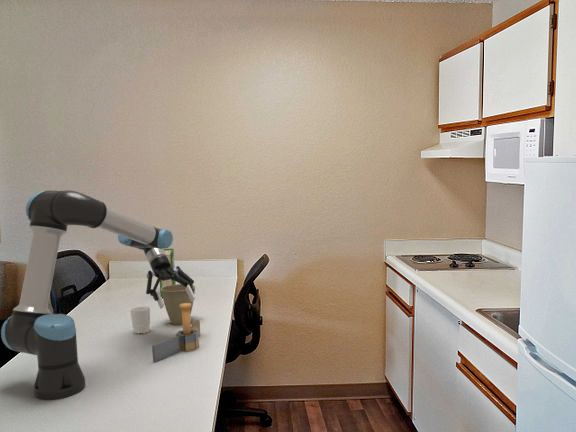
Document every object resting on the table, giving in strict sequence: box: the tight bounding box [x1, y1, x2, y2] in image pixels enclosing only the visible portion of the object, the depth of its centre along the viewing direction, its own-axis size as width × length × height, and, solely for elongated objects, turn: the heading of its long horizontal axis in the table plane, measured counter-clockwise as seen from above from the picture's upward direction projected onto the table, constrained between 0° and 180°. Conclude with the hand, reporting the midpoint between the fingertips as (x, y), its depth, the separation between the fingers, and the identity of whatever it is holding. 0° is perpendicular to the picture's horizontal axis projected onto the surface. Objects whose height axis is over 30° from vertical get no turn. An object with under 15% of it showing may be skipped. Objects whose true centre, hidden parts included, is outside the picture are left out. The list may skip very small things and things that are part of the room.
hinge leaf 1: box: [151, 329, 199, 363], centre depth 201 cm, size 20×8×6 cm, turn 145°
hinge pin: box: [180, 303, 193, 335], centre depth 205 cm, size 4×4×17 cm
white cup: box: [130, 305, 151, 335], centre depth 229 cm, size 8×8×10 cm
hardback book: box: [159, 248, 177, 297], centre depth 295 cm, size 18×7×24 cm, turn 10°
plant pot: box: [161, 283, 196, 326], centre depth 240 cm, size 15×15×16 cm
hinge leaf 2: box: [181, 319, 201, 353], centre depth 212 cm, size 8×21×6 cm, turn 175°
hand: (178, 303), depth 211 cm, fingers open, 13 cm apart
